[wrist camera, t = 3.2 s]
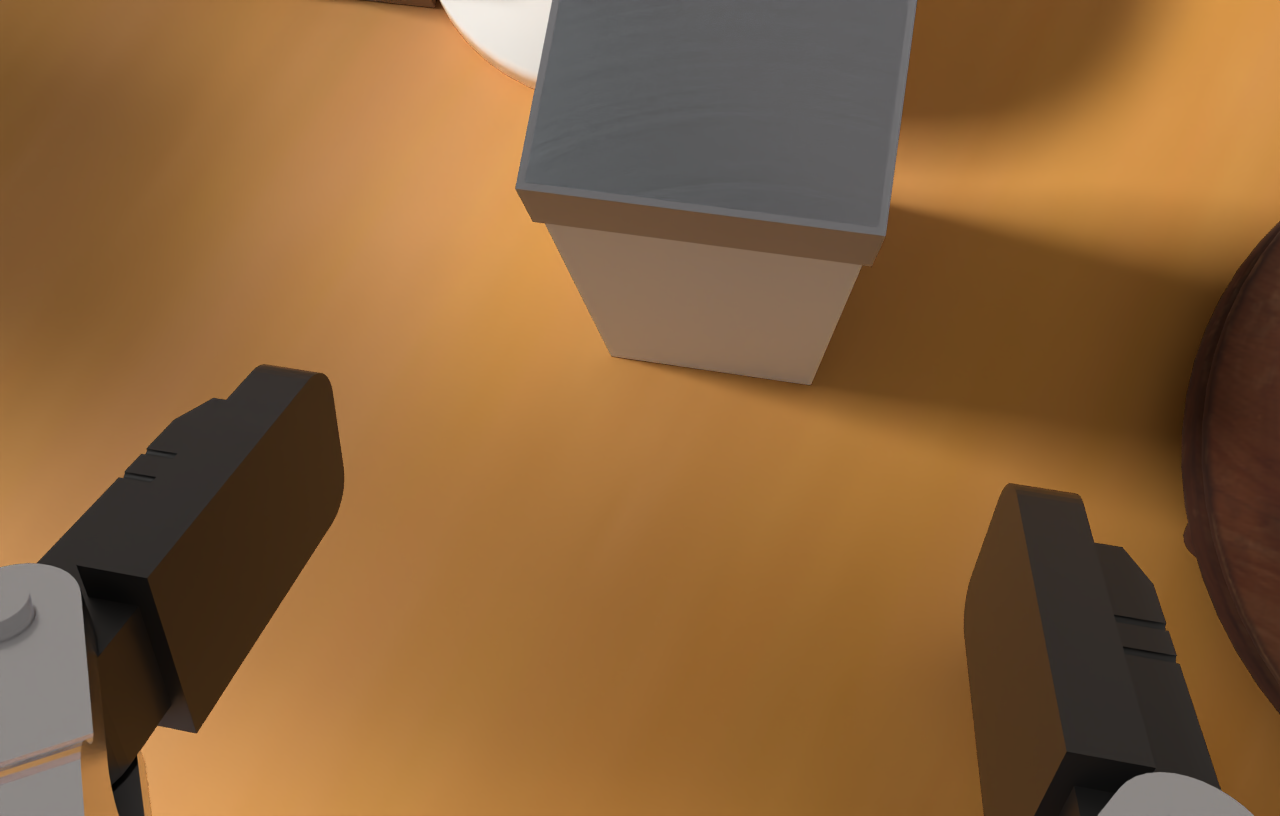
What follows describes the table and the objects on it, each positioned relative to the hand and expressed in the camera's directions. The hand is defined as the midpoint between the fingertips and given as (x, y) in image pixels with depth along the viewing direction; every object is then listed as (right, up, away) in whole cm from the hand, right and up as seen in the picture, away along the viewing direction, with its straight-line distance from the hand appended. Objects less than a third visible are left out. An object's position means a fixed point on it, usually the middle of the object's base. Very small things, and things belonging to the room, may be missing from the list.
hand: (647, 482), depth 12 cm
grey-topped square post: (+2, +4, +11) cm, 12 cm away
